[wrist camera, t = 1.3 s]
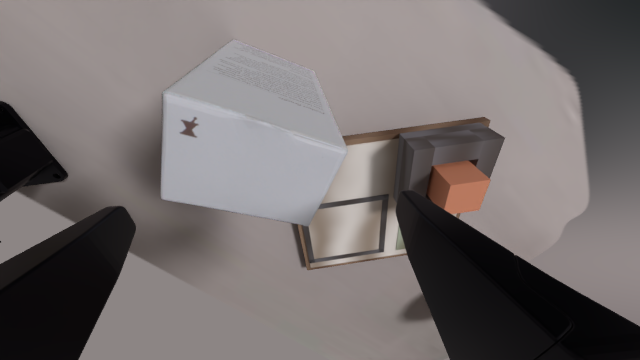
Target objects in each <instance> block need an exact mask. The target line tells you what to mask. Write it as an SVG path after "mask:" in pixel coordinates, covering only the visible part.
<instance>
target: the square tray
mask: <svg viewBox="0 0 640 360" xmlns="http://www.w3.org/2000/svg"><path fill="white" fill-rule="evenodd" d="M489 123H490V120H489V119H487V118H485V117H481V118H474V119H467V120H459V121H452V122H445V123H437V124H430V125H423V126H416V127H408V128H401V129H394V130H386V131H379V132H372V133H364V134H357V135H350V136H342V137H343V140H344V142H345V144H346V146H347V148H348V152H347V155H346V157H345V158H344V160H343V162H342V164H341V166H340V168H339V170H338V172H337V174H336V176H335V178H334V180H333V181H332V183H331V185H330V187H329V189H328V191H327V193H326V195H325V197H324V199H323V200H322V202H321V204H320V206H319V208H318V210H317V212H316V214H315V215H314V217H313V219H312V221H311V223H310V225H309V226H303V225H299V224H298V229H299V234H300V238H301V243H302V248H303V253H304V257H305V262H306V267H307V270H312V269H319V268H325V267H332V266H338V265H345V264H351V263H357V262H364V261H370V260H377V259H383V258H390V257H396V256H403V255H407V252H406V249H405V246H404V242H403V238H402V235H401V231H400V228H399V224H398V221H397V217H396V211H395V210H396V205H397V200H398V196H399V193H400V191H402V190H414V191H415V192H417V193H419V194H420V195H422V196H423V197H425V198H427V199H428V200H430V201H431V202H432V200H431V199H430V198H429V196H428V195H427V194H426V192H427V187H428V182H429V177H430V172H431V167H432V166H433V165H440V164H447V163H454V162H461V161H470V162H471V163H472V164H473V165H474V166H475V167H477V168H478V169H479V170H480V171H481V172H482V173H483V174H485V175H486V176H487V177H488V178H489V179H490V176H491V174H492V171H493V168H494V166H495V163H496V160H497V158H498V155H499V153H500V150H501V147H502V145H503V142H504V139H505V138H504V137H503V136H501V135H499V134H498V133H496V132H495V131H493V130H491V129H490V128H488V127H489ZM452 215H454V216H455V217H457V218H458V219H459V216H460V213H456V214H452Z"/></svg>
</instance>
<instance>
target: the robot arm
mask: <svg viewBox="0 0 640 360" xmlns="http://www.w3.org/2000/svg"><path fill="white" fill-rule="evenodd" d="M0 108H1V109H3V110H1V109H0V201H2V200H3V199H5V198H6V197H7V196H9V195H10V194H12V193H13V192H15V191H16V190H18V189H19V188H21V187H22V186H30V185H37V184H44V183H51V182H59V181H63V180H64V179H66V178H67V177H68V174H67V173H66V171H65V170H64V169H63V168H62V167H61V165H60V164H59V163H58V162H57V161H56V159H55V158H54V157H53V156H52V155H51V153H50V152H49V151H48V150H47V149H46V148H45V146H44V145H43V144H42V143H41V142H40V140H39V139H38V138H37V137H36V136H35V134H34V133H33V132H32V131H31V130H30V128H29V127H28V126H27V125H26V124H25V122H24V121H23V120H22V119H21V118H20V117H19V115H18V114H17V113H16V112H15V111H14V109H13V108H12V107H11V106H10V105H9V104H7V103H5V102H2V101H0ZM395 211H396V217H397V221H398V224H399V228H400V231H401V235H402V238H403V242H404V246H405V249H406V252H407V255H408V258H409V260H410V263H411V265H412V268H413V270H414V273H415V275H416V278H417V280H418V282H419V285H420V287H421V290H422V292H423V295H424V297H425V300H426V302H427V304H428V307H429V309H430V312H431V314H432V317H433V319H434V322H435V324H436V326H437V329H438V331H439V334H440V336H441V339H442V341H443V344H444V346H445V348H446V351H447V353H448V356H449V358H450V360H640V326H638V325H636V324H635V323H633V322H631V321H629V320H627V319H626V318H624V317H622V316H620V315H618V314H617V313H615V312H613V311H611V310H609V309H608V308H606V307H604V306H602V305H600V304H599V303H597V302H595V301H593V300H591V299H590V298H588V297H586V296H584V295H582V294H581V293H579V292H577V291H575V290H574V289H572V288H570V287H568V286H567V285H565V284H563V283H561V282H560V281H558V280H556V279H554V278H553V277H551V276H549V275H548V274H546V273H544V272H543V271H541V270H539V269H538V268H536V267H535V266H533V265H531V264H530V263H528V262H527V261H525V260H524V259H522V258H520V257H519V256H517V255H515V256H514V253H512V252H511V251H509V250H508V249H506V248H504V247H503V246H501V245H500V244H498V243H496V242H495V241H493V240H492V239H490V238H488V237H487V236H485V235H484V234H482V233H481V232H479V231H477V230H476V229H474V228H473V227H471V226H469V225H468V224H466V223H465V222H463V221H462V220H460V219H458V218H457V217H455V216H454V215H452V214H450V213H449V212H447V211H446V210H444V209H442V208H441V207H439V206H438V205H436V204H435V203H433V202H431V201H430V200H428V199H427V198H425V197H423V196H422V195H420V194H419V193H417V192H415V191H414V190H402V191H400V193H399V196H398V200H397V205H396V210H395ZM135 230H136V226H135V223H134V221H133V220H132V218H131V217H130V215H129V213H128V212H127V210H126V209H125V208H124V207H122V206H110V207H106V208H104V209H102V210H100V211H98V212H96V213H95V214H93V215H91V216H89V217H87V218H85V219H83V220H82V221H80V222H78V223H76V224H74V225H72V226H70V227H69V228H67V229H65V230H63V231H61V232H59V233H57V234H55V235H54V236H52V237H50V238H48V239H46V240H44V241H43V242H41V243H39V244H37V245H35V246H33V247H31V248H30V249H28V250H26V251H24V252H22V253H20V254H18V255H16V256H14V257H13V258H11V259H9V260H7V261H5V262H4V263H1V264H0V360H78V359H79V357H80V355H81V353H82V351H83V349H84V347H85V345H86V343H87V341H88V339H89V337H90V335H91V333H92V331H93V329H94V327H95V324H96V322H97V320H98V318H99V316H100V314H101V312H102V310H103V308H104V306H105V304H106V302H107V300H108V298H109V296H110V294H111V291H112V290H113V288H114V285H115V283H116V281H117V279H118V277H119V275H120V272H121V270H122V267H123V264H124V261H125V259H126V256H127V253H128V250H129V248H130V245H131V242H132V239H133V237H134V234H135ZM0 242H1V241H0Z"/></svg>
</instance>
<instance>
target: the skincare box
mask: <svg viewBox="0 0 640 360" xmlns="http://www.w3.org/2000/svg"><path fill="white" fill-rule="evenodd" d="M347 152H348V148H347V146H346V144H345V142H344V140H343V137H342V135H341V133H340V131H339V128H338V126H337V124H336V121H335V119H334V117H333V114H332V112H331V110H330V107H329V105H328V102H327V100H326V98H325V95H324V93H323V91H322V88H321V86H320V84H319V81H318V79H317V76H316V74H315V72H314V71H313V70H310V69H308V68H305V67H303V66H300V65H298V64H295V63H293V62H290V61H288V60H285V59H283V58H280V57H278V56H275V55H273V54H270V53H268V52H265V51H263V50H260V49H257V48H255V47H252V46H250V45H247V44H245V43H242V42H240V41H237V40H235V39H233V40H231V41H230V42H228V43H227V44H226V45H225V46H223V47H222V48H221V49H219V50H218V51H217V52H215V53H214V54H213V55H211V56H210V57H209V58H207V59H206V60H205V61H203V62H202V63H201V64H200V65H198V66H197V67H195V68H194V69H193V70H192V71H190V72H189V73H188V74H186V75H185V76H184V77H183V78H181V79H180V80H178V81H177V82H176V83H174V84H173V85H172V86H170V87H169V88H168V89H166V90H165V91H164V92H163V93H162V145H161V188H160V198H161V199H163V200H167V201H173V202H179V203H185V204H191V205H196V206H201V207H207V208H213V209H218V210H223V211H229V212H234V213H239V214H245V215H250V216H255V217H261V218H267V219H272V220H277V221H283V222H288V223H293V224H299V225H303V226H309V225H310V223H311V221H312V219H313V217H314V215H315V214H316V212H317V210H318V208H319V206H320V204H321V202H322V200H323V199H324V197H325V195H326V193H327V191H328V189H329V187H330V185H331V183H332V181H333V180H334V178H335V176H336V174H337V172H338V170H339V168H340V166H341V164H342V162H343V160H344V158H345V157H346V155H347Z"/></svg>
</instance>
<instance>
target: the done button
mask: <svg viewBox="0 0 640 360" xmlns="http://www.w3.org/2000/svg"><path fill="white" fill-rule="evenodd" d="M489 183H490V179H489V178H488V177H487V176H486V175H485V174H483V173H482V172H481V171H480V170H479V169H478V168H477V167H475V166H474V165H473V164H472V163H471V162H470V161H461V162H454V163H447V164H440V165H433V166H432V167H431V172H430V177H429V182H428V187H427V192H426V194H427V195H428V196H429V198H430V199H431V200H432V202H433V203H435V204H436V205H438V206H439V207H441V208H442V209H444V210H446V211H447V212H449V213H450V214H456V213H463V212H469V211H476V210H479V209H480V207H481V204H482V201H483V199H484V196H485V193H486V191H487V188H488V186H489Z"/></svg>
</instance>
